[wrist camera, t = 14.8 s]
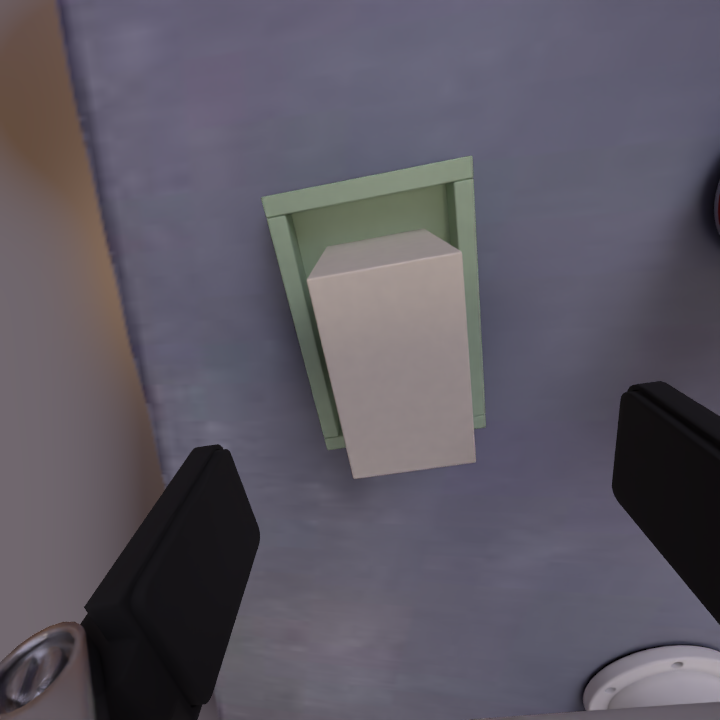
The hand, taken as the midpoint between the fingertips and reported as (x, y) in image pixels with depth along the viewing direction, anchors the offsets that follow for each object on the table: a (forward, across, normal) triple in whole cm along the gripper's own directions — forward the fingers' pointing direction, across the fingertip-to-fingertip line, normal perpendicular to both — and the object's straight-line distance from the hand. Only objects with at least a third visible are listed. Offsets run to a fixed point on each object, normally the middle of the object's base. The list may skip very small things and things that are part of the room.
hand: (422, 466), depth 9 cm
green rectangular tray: (+11, 0, -1) cm, 11 cm away
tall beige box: (+11, 0, -1) cm, 11 cm away
